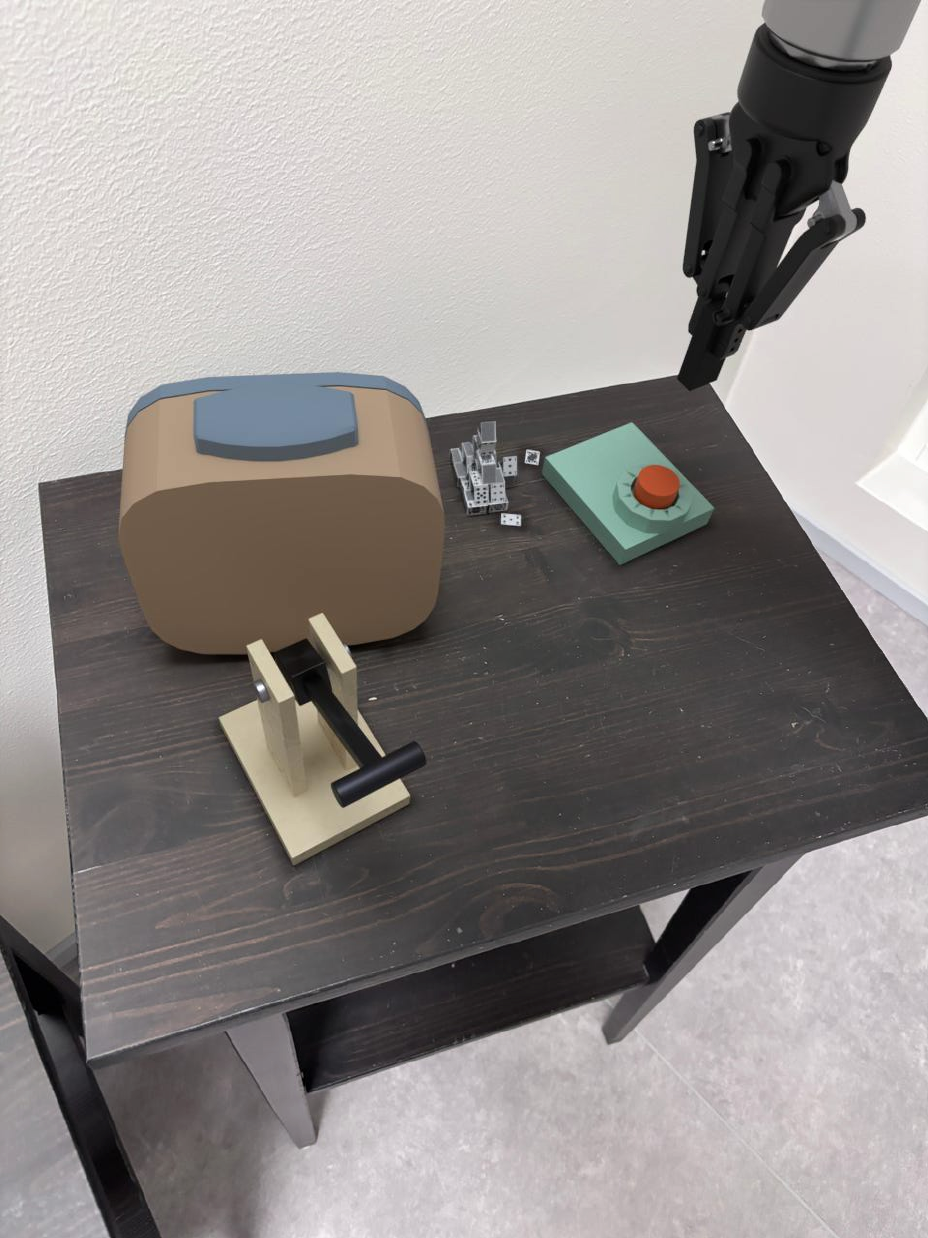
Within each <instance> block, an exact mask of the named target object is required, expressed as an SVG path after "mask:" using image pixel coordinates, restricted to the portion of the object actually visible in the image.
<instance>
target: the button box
mask: <svg viewBox="0 0 928 1238" xmlns="http://www.w3.org/2000/svg"><path fill="white" fill-rule="evenodd" d="M650 465H660V466H664V467H667V468H669V469H671V470H672V471H673V472H674V473H675V474H676V475H677V476H678V478H679V481H680V487H679V490H678V492H677V495H676V497H675V500H674V502H673V503H672V504H671V505H670V506H669V507H667V508H665V509H651V508H648V507H646V506H644V505H642V504H641V503H639V502H638V500H637V499H636V498H635V496H634V491H633V490H634V486H635V483H636V480H637V477H638V474H639V472H640V471H641V470H642V469H643V468H645V467H647V466H650ZM541 476H542V477H544V478H545V479H546V481H547V483H549V484H550V486H551V488H553V489H554V490H555V491H556V493H557V494H558V495H559V496H560V497H561V498H562V499H563V501H564V502H565V503H566V504H567V506H568V507H569V508H570V509H571V511H573V513H574V514H575V515H576V516H577V517H578V518H579V520H580V521H581V522H582V524H584V525H585V526H586V528H587V529H588V530H589V531H590V532H591V534H592V535H593V536H594V537H595V538H596V539H597V541H598V542H599V543H600V544H601V545H602V546H603V548H604V549H605V550H606V551H607V552H608V554H609V555H610V556H611V557H612V558H613V559H614V560H615V562H616V563H617V564H618V565H619V566H621V565H623V564H626V563H628V562H630V561H632V560H634V559H636V558H638V557H640V556H642V555H645V554H647V553H649V552H651V551H654V550H656V549H657V548H659V547H662V546H664V545H667V544H668V543H670V542H673V541H674V540H677V539H679V538H680V537H681V538H682V537H683V536H685V535H687V534H690V533H691V532H694V531H695V530H697V529H700V528H703V527H704V526H706V525H708V523H709V521H710V519H711V517H712V515H713V512H714V510H715V507H714V506H713V505H712V503H710V501H709V500H708V499H707V498H705V497H704V496H703V494H702V493H701V492H700V491H699V490H698V489H697V488H696V487H695V486H694V485H693V484H692V483H691V482H690V481H689V480H688V478H686V477H685V476H684V474H683V473H681V471H679V469H678V468H677V467H676V466H675V465H674V464H673V463H672V462H671V461H670V460H669V459H668V458H667V457H666V456H665V455H664V453H662V451H661V450H660V449H659V448H658V447H657V446H656V445H655V444H654V443H653V442H652V441H651V440H650V439H649V437H647V436H646V435H645V434H644V433H643V432H642V431H641V430H640V429H639V428H638V426H637V425H636V424H635V423H634V422H632V421H631V422H629V423H626V424H623V425H621V426H619V427H617V428H613V429H611V430H609V431H607V432H604V433H601V434H599V435H597V436H594V437H592V438H589V439H587V440H584V441H582V442H579V443H577V444H575V445H572V446H570V447H567V448H564V449H562V450H559V451H557V452H554V453H552V454H550V455H549V454H548V455H547V456H545V457H544V462H543V465H542V469H541Z"/></svg>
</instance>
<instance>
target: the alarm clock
mask: <svg viewBox="0 0 928 1238" xmlns="http://www.w3.org/2000/svg"><path fill="white" fill-rule="evenodd" d="M428 427H429V426H428V422H427V419H426V416H425V412H424V411H423V408H422V405H421V401H420V400H419V399H418V398H417V397H416V396H415V395H414V393H412V392H411V391H410V389H409V388H408V387H407V386H405V385H403V384H402V383H399V382H397V381H396V380H393V379H391V378H389V377H387V376H384V375H377V374H366V373H354V372H353V373H352V372H343V371H342V372H341V371H329V372H305V373H304V372H303V373H277V374H275V373H274V374H252V375H248V374H247V375H226V376H225V375H223V376H222V375H221V376H206V377H205V376H204V377H200V378H195V379H194V378H193V379H188V380H182V381H176V382H169V383H163V384H160V385H158V386H157V387H155V388H153V389H152V390H150V391H148V392H146V393H145V394H143V395H142V396H139V398H138V399H137V401H136V403H135V404H134V405H133V406H132V408H131V409H130V411H129V412H128V414H127V419H126V424H125V431H124V438H123V439H124V441H123V454H122V455H123V457H122V473H121V487H120V505H119V519H118V534H117V535H118V536H117V537H118V542H119V548H120V552H121V556H122V559H123V561H124V564H125V568H126V570H127V573H128V576H129V578H130V581H131V584H132V587H133V589H134V592H135V595H136V598H137V601H138V603H139V606H140V610H141V612H142V615H143V617H144V619H145V621H146V623H147V624H148V626H149V628H150V630H151V631H152V632H153V633H154V634H155V635H157V637H159V639H160V640H162V641H163V642H165V643H166V644H168V645H171V646H173V647H174V648H176V649H178V650H182V651H187V652H190V653H191V652H192V653H195V654H200V655H248V652H247V647H246V646H247V645H249V644H251V643H254V642H256V641H258V640H261V639H262V640H263V642H264V644H265V646H266V647H267V649H268V651H269V652H270V653H274V652H276V651H278V650H280V649H283V648H285V647H287V646H289V645H292V644H294V643H296V642H298V641H301V640H303V639H305V638H307V639H308V641H309V642H310V632H309V621H308V619H309V618H312V617H314V616H316V615H319V614H321V613H323V614H324V615H325V617H326V619H327V620H328V622H329V623H330V625H331V627H332V628H333V630H334V631H335V633H336V635H337V636H338V638H339V639H340V641H341V642H345V643H346V645H347V646H356V645H361V644H366V643H367V644H368V643H373V642H378V641H383V640H390V639H394V638H396V637H399V636H401V635H403V634H407V633H408V632H410V631H413V630H415V629H416V628H417V627H418V626H420V625H421V624H422V623H423V622H425V621H426V620H427V619H428V617H429V616H430V614H431V613H432V611H433V610H434V608H435V606H436V603H437V599H438V596H439V590H440V581H441V573H442V572H441V571H442V563H443V554H444V543H445V537H446V520H445V511H444V505H443V501H442V494H441V490H440V485H439V479H438V473H437V470H436V464H435V459H434V453H433V447H432V443H431V437H430V431H429V428H428ZM310 643H311V642H310Z"/></svg>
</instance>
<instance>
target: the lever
mask: <svg viewBox="0 0 928 1238" xmlns="http://www.w3.org/2000/svg"><path fill="white" fill-rule="evenodd" d="M273 655H274V659H275V663H276V665H277V666H278V668H279V670H280V672H281V673H282V675H283V677H284V678H285V680H286V682H287V684H288V685H289V687H290V689H291V691H292V692H293V694H294V697H295V700H296V702H297V703H298V704H299V706H302V705H304V704H306V703H308V702H312V703H313V705H314V706H315V707H316V709H317V710H318V711H319V713H320V714H321V716H322V717H323V718H324V720H325V721H326V722H327V724H328V725H329V727H330V728H331V729H332V731H333V732H334V733H335V735H336V736H337V738H338V739H339V740H340V742H341V743H342V744H343V746H344V747H345V749H346V750H347V751H348V753H349V754H350V756H351V757H352V758H353V760H354V761H355V762H356V764H357V765H358V767H359V769H358V770H356V771H354V772H352V773H350V774H348V775H346V776H344V777H342V778H340V779H338V780H336V781H334V782H332V783H331V789H332V792H333V794H334V796H335V798H336V800H337V802H338V803H339V805H340V806H341V807H342V808H344V807H346V806H348V805H350V804H352V803H354V802H356V801H358V800H360V799H362V798H364V797H366V796H367V795H369V794H371V793H373V792H375V791H377V790H379V789H381V788H383V787H385V786H387V785H389V784H391V783H392V782H394V781H396V780H398V779H402V778H404V777H406V776H408V775H410V774H412V773H414V772H415V771H417V770H419V769H420V768H421V769H422V768H423V767H425V766H426V765H427V756H426V755H425V753H424V750H423V749H422V747H421V745H420V744H419V743H418V742H417V741H416V740H413V741H411V742H409V743H407V744H405V745H402V746H401V747H399V748H397V749H395V750H393V751H391V752H389V753H387V754H385V756H383V757H382V756H381V755H380V754H379V752H378V751H377V750H376V748H375V747H374V746H373V744H372V743H371V742H370V741H369V739H368V738H367V737H366V735H365V734H364V733H363V731H362V730H361V729H360V727H359V726H358V725H357V724H356V722H355V721H354V720H353V718H352V717H351V716H350V714H349V713H348V712H347V710H346V709H345V708H344V707H343V705H342V704H341V703H340V701H339V700H338V699H337V697H336V696H335V695H334V693H333V692H332V691H333V690H332V686H331V682H330V678H329V674H328V671H327V667H326V663H325V661H324V660H323V658H322V657H321V656H320V655H319V653H318V652H317V651H316V650H315V648H314V647H313V646H312V645H311V643H310V642H309V641H308V639H307V638H305V639H303V640H301V641H298V642H296V643H294V644H292V645H289V646H287V647H285V648H283V649H280V650H278V651H276V652H273Z"/></svg>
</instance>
